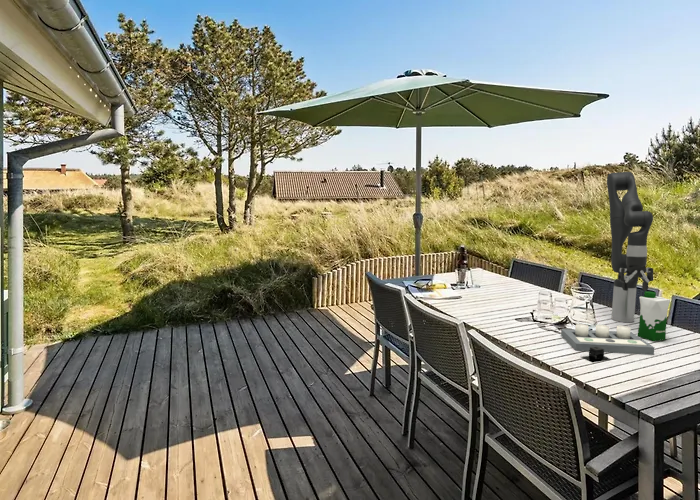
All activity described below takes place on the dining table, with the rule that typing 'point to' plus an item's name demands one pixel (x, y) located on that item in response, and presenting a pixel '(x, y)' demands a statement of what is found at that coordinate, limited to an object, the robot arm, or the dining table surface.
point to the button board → (613, 348)
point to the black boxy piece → (596, 355)
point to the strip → (610, 341)
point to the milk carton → (653, 317)
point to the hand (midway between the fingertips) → (634, 290)
